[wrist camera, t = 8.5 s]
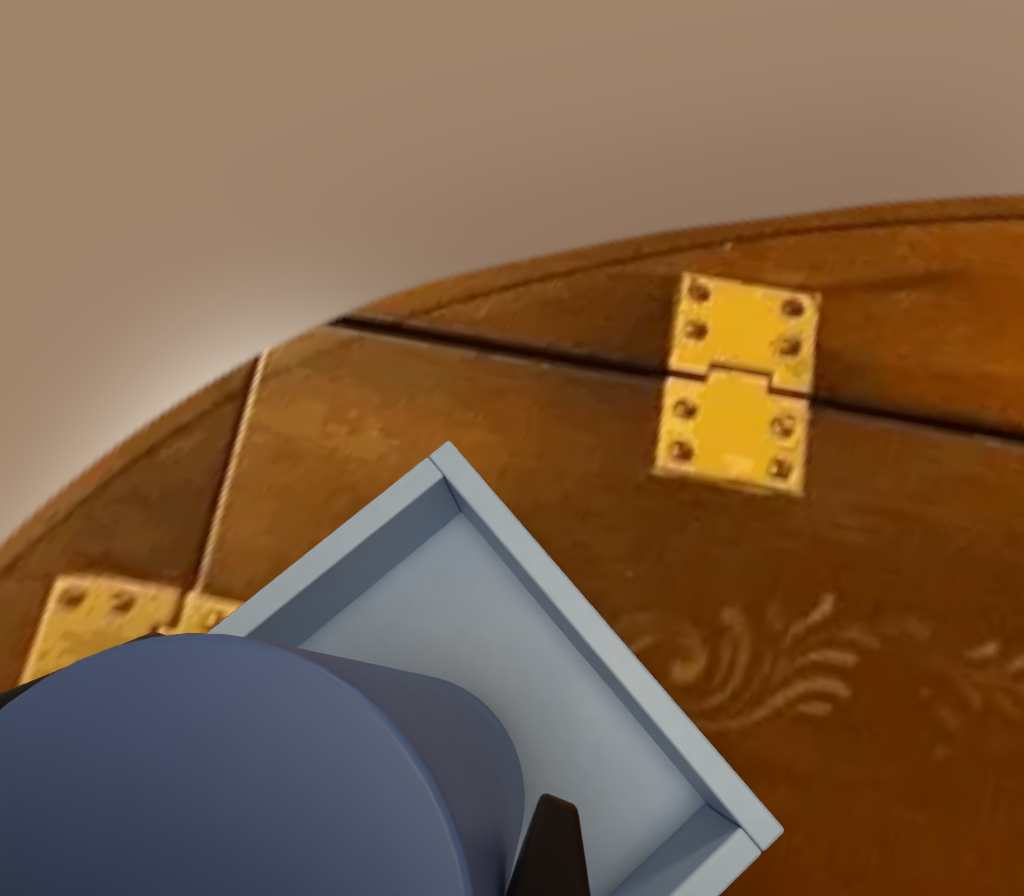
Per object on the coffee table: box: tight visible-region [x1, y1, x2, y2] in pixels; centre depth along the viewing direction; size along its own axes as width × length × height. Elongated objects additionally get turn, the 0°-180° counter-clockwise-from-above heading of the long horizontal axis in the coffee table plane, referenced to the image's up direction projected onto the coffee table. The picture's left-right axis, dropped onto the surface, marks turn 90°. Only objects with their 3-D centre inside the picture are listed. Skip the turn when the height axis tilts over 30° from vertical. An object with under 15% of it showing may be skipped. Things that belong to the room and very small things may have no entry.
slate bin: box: [206, 441, 784, 896], centre depth 18 cm, size 10×10×4 cm
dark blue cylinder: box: [0, 633, 525, 896], centre depth 10 cm, size 4×4×10 cm
